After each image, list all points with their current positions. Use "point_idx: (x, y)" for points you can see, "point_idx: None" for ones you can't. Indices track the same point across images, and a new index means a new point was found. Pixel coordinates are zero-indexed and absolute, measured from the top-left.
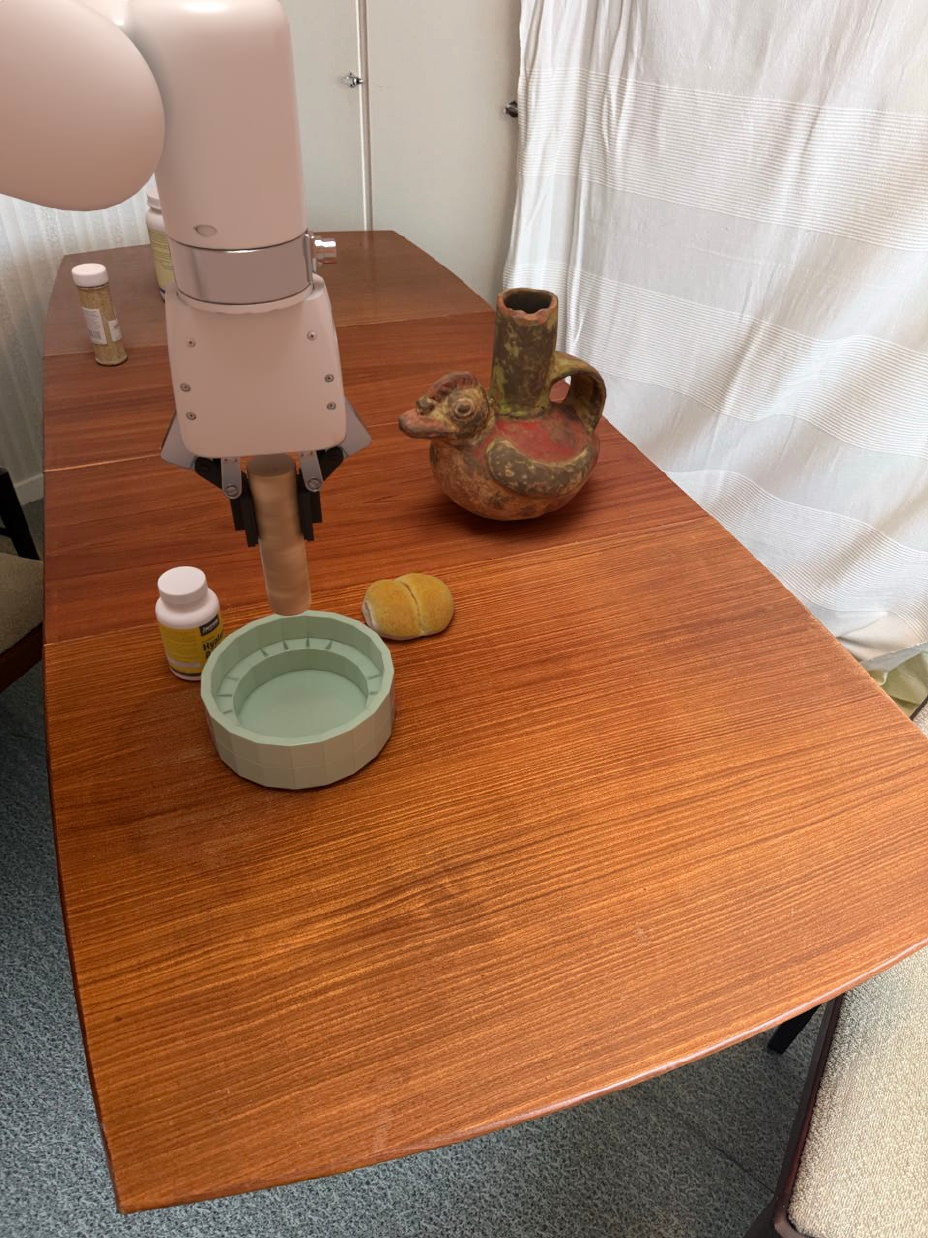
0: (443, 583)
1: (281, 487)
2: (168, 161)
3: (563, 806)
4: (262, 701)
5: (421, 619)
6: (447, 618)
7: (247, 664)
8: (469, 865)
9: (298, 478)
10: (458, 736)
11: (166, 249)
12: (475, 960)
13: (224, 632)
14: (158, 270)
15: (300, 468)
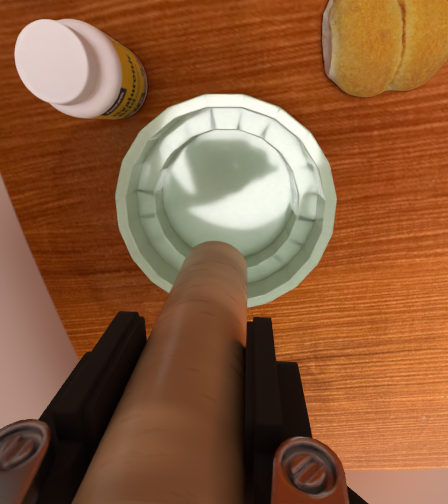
0: None
1: None
2: None
3: (426, 330)
4: (186, 170)
5: (396, 78)
6: (432, 76)
7: (167, 146)
8: (332, 357)
9: (250, 450)
10: (369, 245)
11: None
12: (313, 410)
13: (137, 75)
14: None
15: (261, 498)
